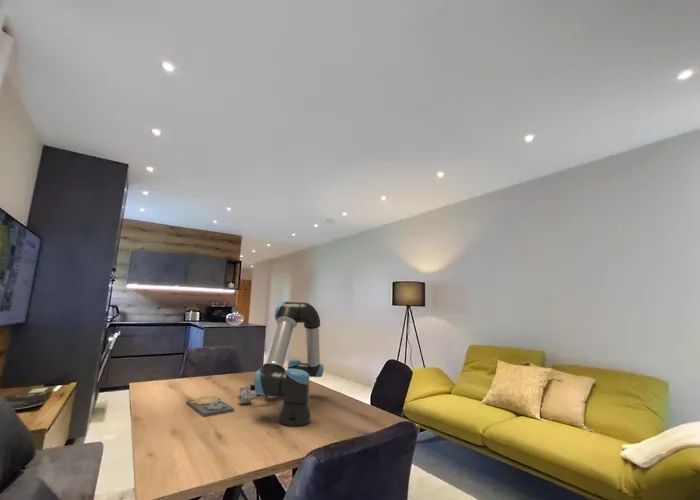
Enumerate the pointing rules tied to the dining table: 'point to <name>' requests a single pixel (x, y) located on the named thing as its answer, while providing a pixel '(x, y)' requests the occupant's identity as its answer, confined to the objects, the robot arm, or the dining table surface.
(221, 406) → the gear board
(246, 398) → the game die
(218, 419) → the dining table surface
